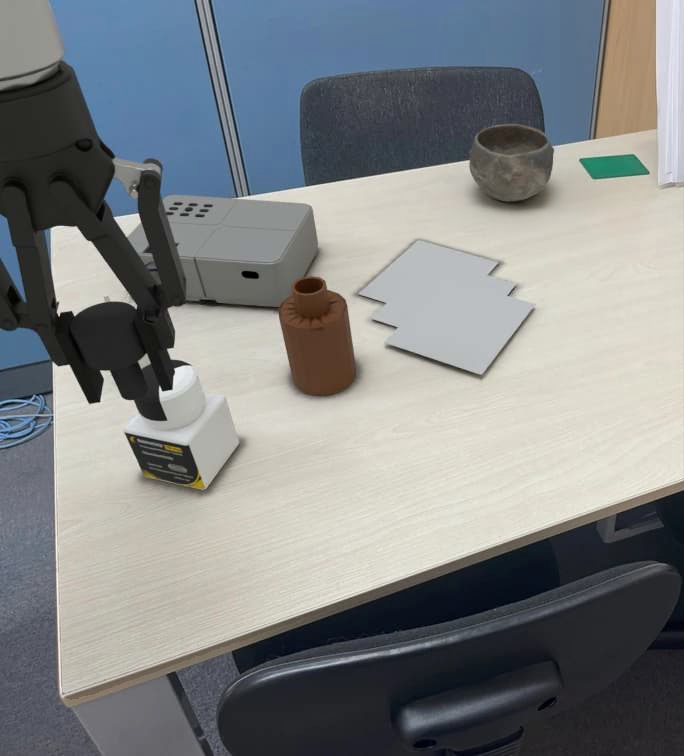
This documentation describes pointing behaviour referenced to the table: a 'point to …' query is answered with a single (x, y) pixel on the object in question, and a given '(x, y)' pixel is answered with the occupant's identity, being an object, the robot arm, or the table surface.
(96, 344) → the stopper
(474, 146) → the bowl
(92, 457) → the table surface
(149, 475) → the medicine bottle
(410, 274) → the paper stack
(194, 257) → the projector
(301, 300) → the bottle
